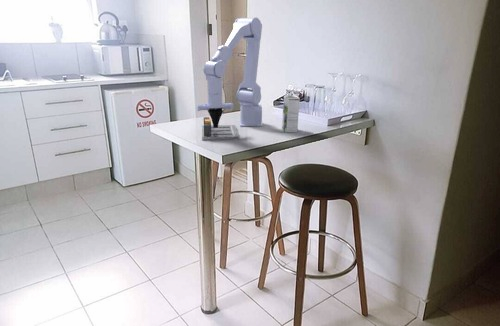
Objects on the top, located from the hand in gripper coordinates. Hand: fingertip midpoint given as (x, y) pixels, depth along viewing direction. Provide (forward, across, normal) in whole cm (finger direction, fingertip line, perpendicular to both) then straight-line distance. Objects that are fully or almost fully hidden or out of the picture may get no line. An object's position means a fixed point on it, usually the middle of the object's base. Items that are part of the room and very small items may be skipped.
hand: (215, 127), depth 144 cm
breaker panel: (+3, -2, 0) cm, 3 cm away
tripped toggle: (+1, +3, -1) cm, 3 cm away
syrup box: (+3, -31, +5) cm, 31 cm away
